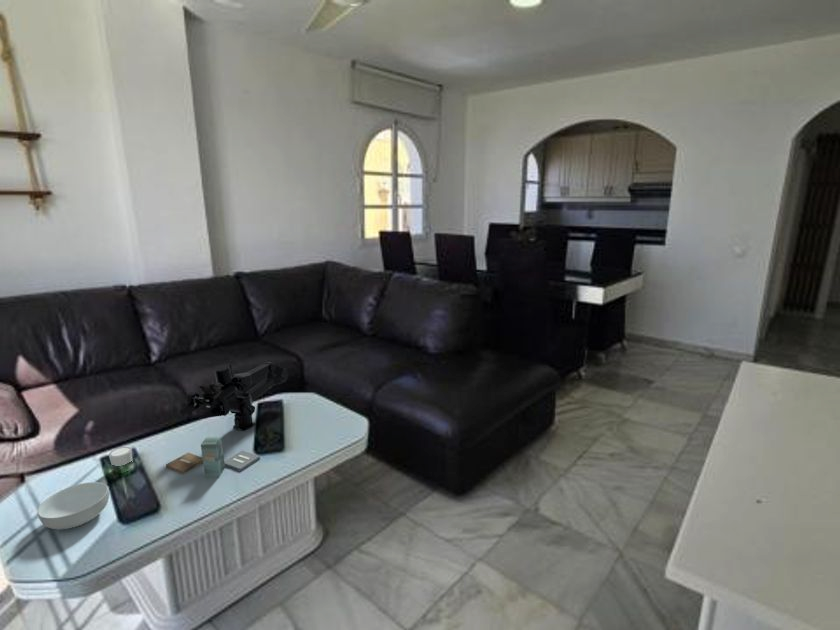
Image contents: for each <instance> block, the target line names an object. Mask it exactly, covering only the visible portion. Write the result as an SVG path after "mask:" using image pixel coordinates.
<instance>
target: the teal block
mask: <svg viewBox="0 0 840 630" xmlns="http://www.w3.org/2000/svg"><path fill="white" fill-rule="evenodd" d="M200 447H201V448H200V449H201V457H202V458H203V462H202V464H203V473H204V478H212V477H215V478H216V477H218V478H220V477H221V476H222V475H223V472H224V471H225V469H226V466H225V464H224V461H225V458H224V457H225V456H224V447H223V440H222V436H206V437H205V438H204V439H203V441H202V442H201V443H200ZM223 470H224V471H223Z"/></svg>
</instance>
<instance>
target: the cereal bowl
mask: <svg viewBox="0 0 840 630" xmlns="http://www.w3.org/2000/svg"><path fill="white" fill-rule="evenodd" d="M109 498H110V491H109V487H108V486H107V484H104V483H102V482H99V481H97V482H95V481H92V482H84V483H79V484H74V485H72V486H68V487H66V488H64V489H62V490H60V491H58V492H55V493H54V494H52V495H51V496H49V497H48V498H46V499H45V500H44V501H43V502H41V504H40V505H39V506H38V508H37V516H38V519H39V521H40V523H42V525H43V526H45V527H46V528H49V529H53V530H65V529H66V530H67V529H71V528H72V527H73V528H76V526H77V527H79V525H80V526H82V524H83V525H84V523H85V524H87V523H88V522H89V521H92V520H93V519H94V518H96V517H97V516H99V514H100V513H102V511H103V510H104V509H105V508H106V506H107V504H108V502H109Z"/></svg>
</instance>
